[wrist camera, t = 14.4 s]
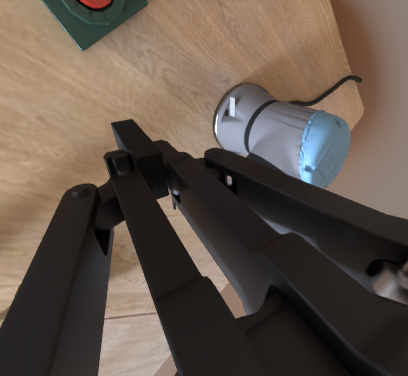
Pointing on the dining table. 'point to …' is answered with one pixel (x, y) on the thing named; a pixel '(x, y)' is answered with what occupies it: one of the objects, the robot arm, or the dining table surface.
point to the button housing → (91, 18)
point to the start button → (96, 3)
